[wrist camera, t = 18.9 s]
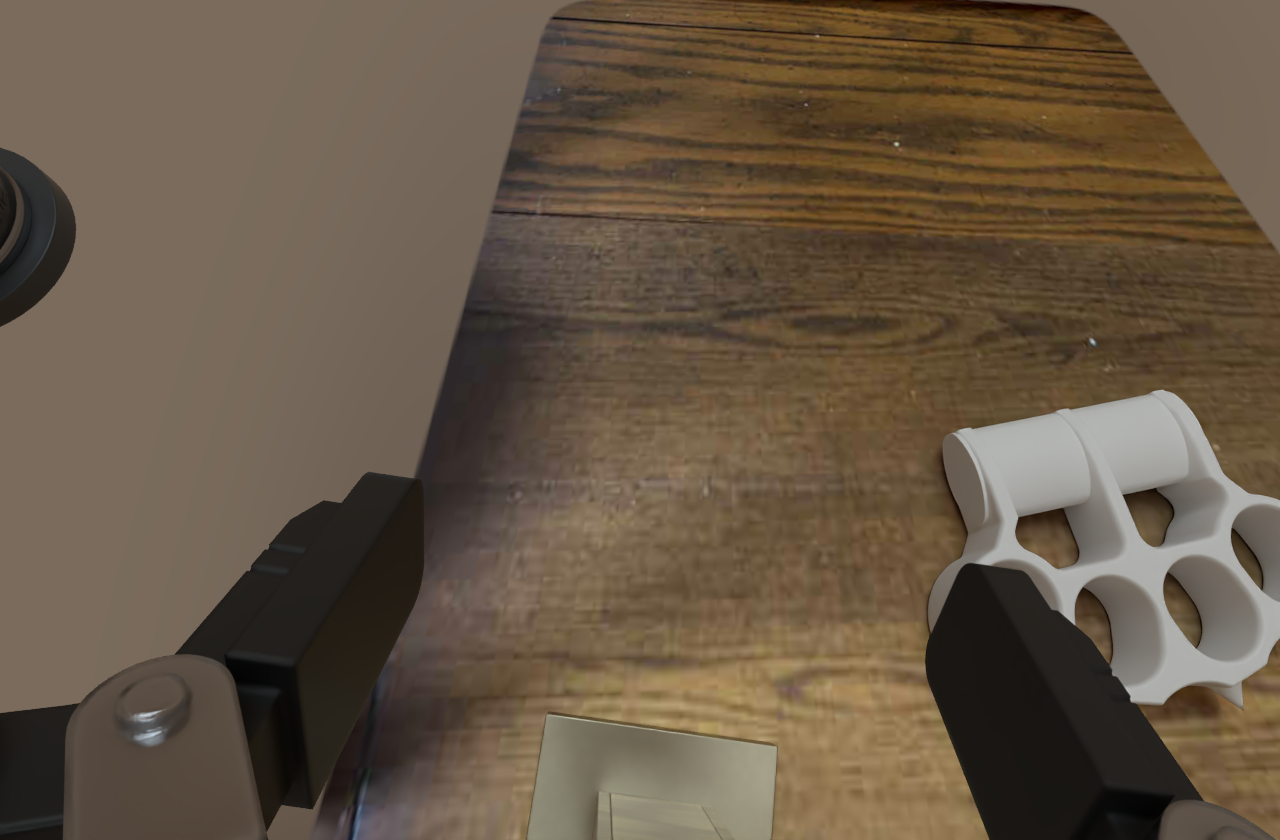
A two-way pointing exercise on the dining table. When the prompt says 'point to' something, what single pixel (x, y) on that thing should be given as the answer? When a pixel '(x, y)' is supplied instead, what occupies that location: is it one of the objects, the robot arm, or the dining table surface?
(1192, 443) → the white brass knuckles
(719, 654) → the dining table surface
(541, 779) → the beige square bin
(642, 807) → the birch sleeve
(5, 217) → the robot arm
